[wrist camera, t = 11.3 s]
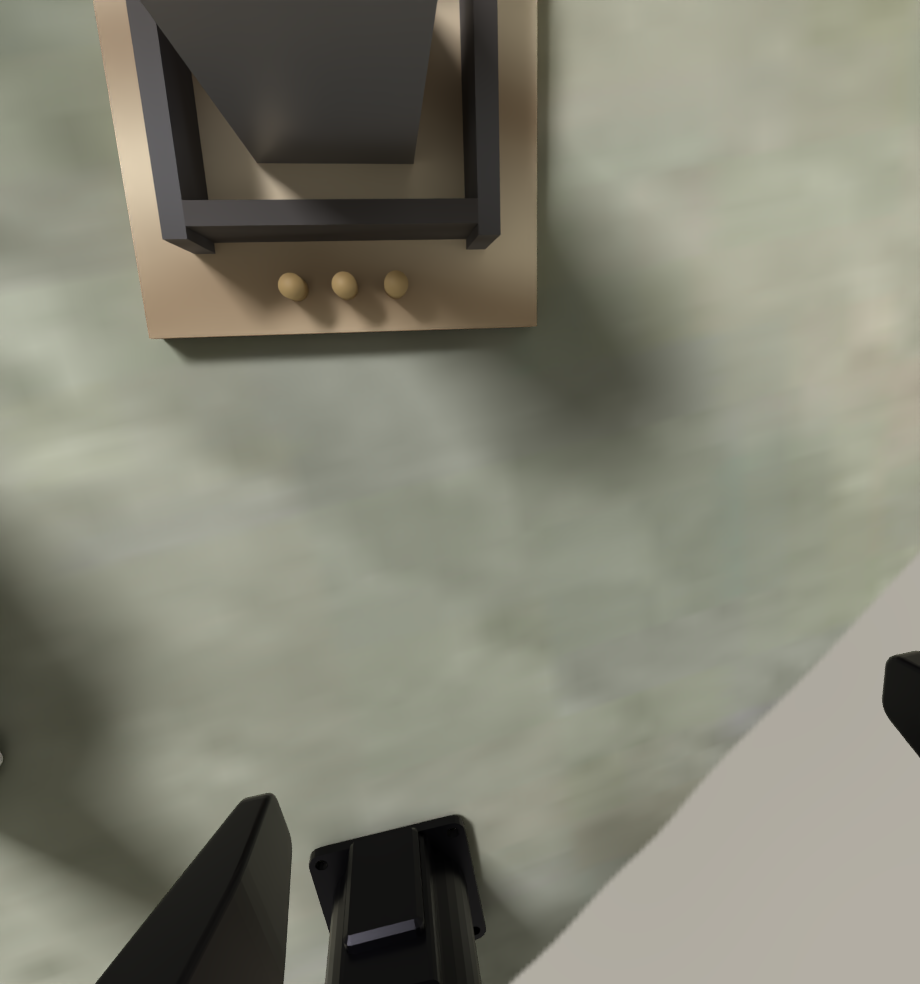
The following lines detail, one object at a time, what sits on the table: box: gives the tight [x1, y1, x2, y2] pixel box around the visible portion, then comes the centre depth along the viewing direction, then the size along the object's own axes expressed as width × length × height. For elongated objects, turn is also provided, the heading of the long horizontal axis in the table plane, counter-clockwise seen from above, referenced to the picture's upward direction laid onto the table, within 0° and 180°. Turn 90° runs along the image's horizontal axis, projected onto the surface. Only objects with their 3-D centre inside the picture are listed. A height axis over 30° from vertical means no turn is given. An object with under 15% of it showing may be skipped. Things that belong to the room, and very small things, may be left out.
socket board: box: [93, 0, 537, 339], centre depth 15 cm, size 14×12×4 cm
